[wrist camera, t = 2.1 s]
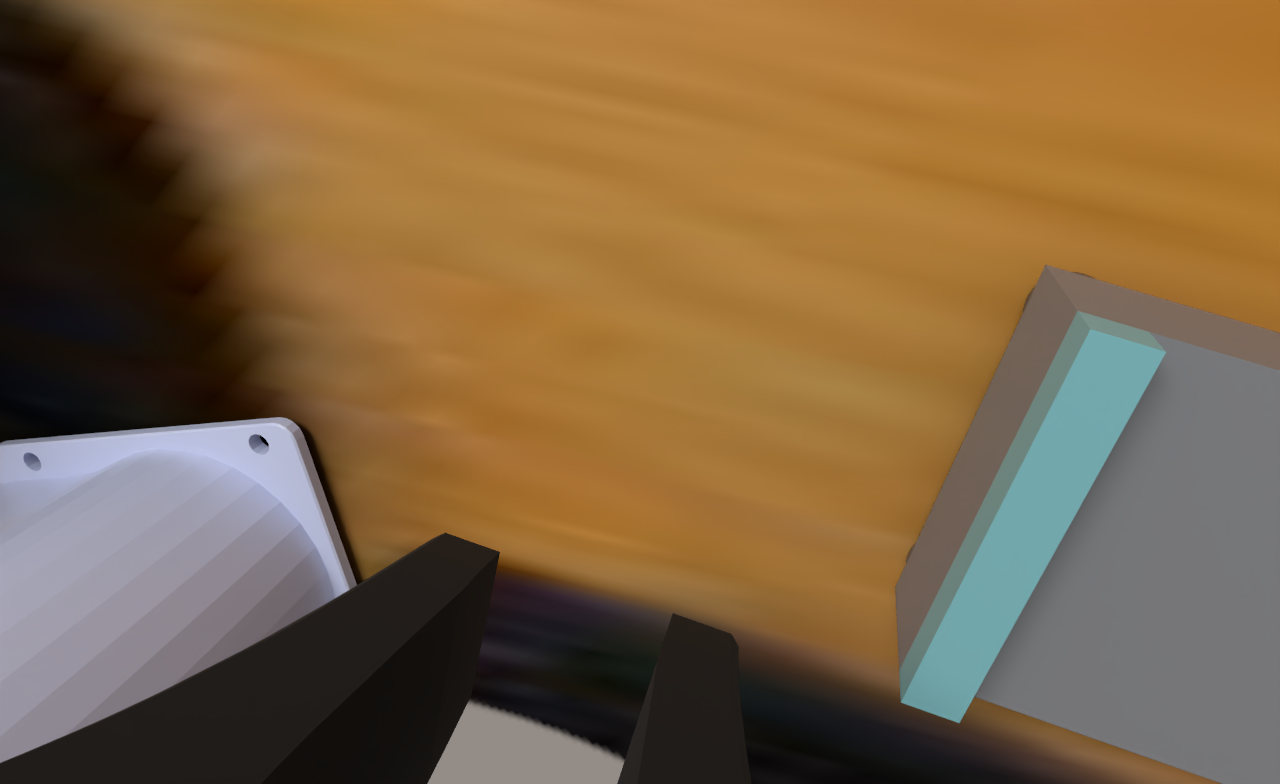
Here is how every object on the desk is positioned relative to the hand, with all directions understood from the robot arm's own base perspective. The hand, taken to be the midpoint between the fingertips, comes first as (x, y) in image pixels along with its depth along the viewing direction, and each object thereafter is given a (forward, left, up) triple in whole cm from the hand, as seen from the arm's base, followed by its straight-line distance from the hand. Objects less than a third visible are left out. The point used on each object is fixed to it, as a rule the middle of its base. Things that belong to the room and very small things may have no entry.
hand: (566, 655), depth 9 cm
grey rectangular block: (+9, -4, -9) cm, 14 cm away
